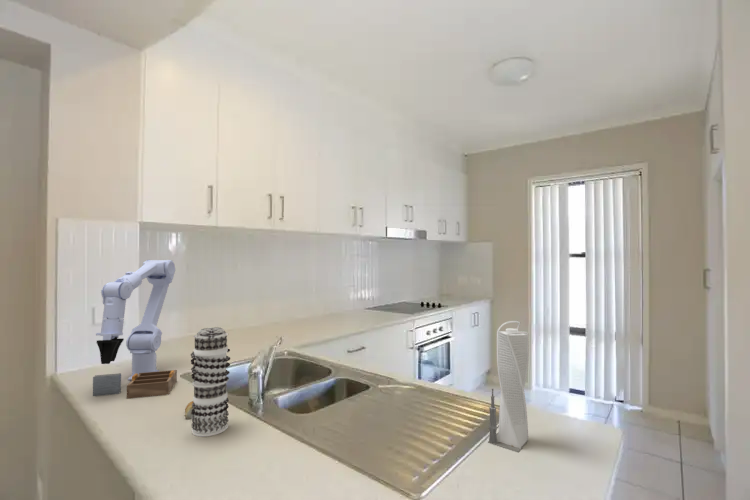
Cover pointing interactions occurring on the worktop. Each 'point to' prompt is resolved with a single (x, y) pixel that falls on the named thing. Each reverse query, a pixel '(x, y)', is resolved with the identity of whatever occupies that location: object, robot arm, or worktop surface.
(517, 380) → the skyscraper
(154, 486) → the worktop surface
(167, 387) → the rack
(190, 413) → the pastry
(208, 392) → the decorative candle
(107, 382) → the panel
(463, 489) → the worktop surface
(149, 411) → the worktop surface
